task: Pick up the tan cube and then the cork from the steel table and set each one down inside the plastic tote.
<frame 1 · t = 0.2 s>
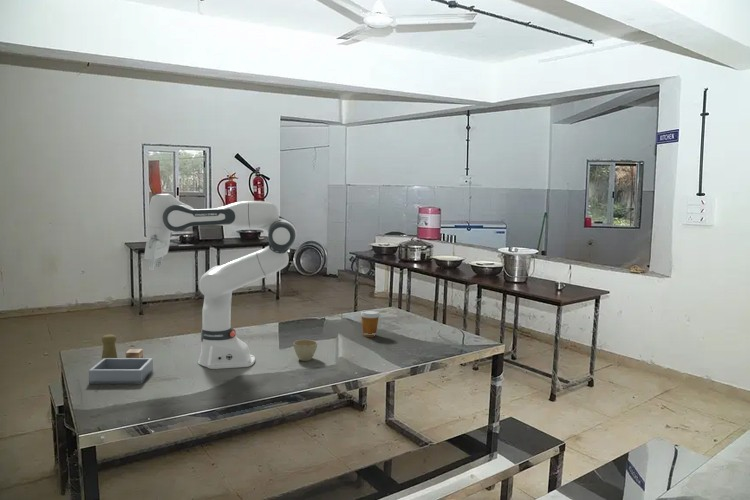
hand: (155, 268, 219), 38 cm above the table, tool pointing down, fingers open, 8 cm apart
tote: (122, 377, 204), on the table
tan cube: (134, 362, 221), on the table
disposable coffee cup: (369, 335, 274), on the table
cork: (109, 362, 221), on the table
flower pot: (305, 359, 233), on the table
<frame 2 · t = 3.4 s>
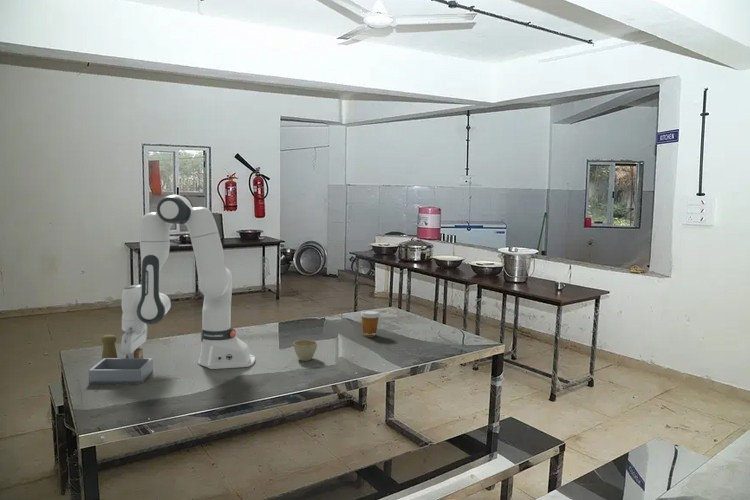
hand: (134, 358, 221), 2 cm above the table, tool pointing down, fingers closed on tan cube, 5 cm apart
tan cube: (134, 362, 221), on the table, touching gripper
everything else where it was.
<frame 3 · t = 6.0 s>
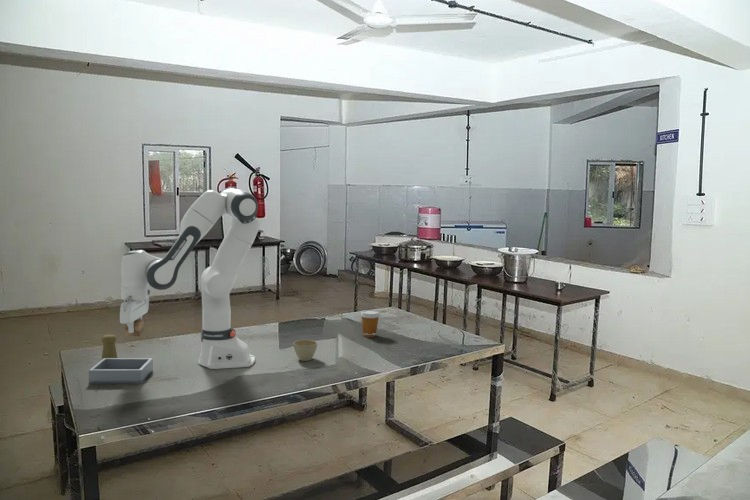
hand: (134, 330, 206), 17 cm above the table, tool pointing down, fingers closed on tan cube, 5 cm apart
tan cube: (134, 334, 206), point 16 cm above the table, touching gripper
everything else where it was.
when the fingers open (5 cm above the table, at t = 9.1 s): tan cube drops 2 cm, resting on tote.
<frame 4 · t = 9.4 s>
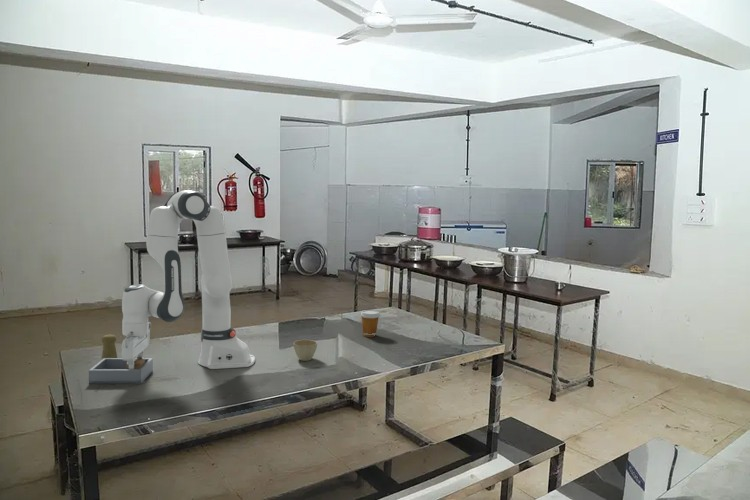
hand: (136, 365, 204), 5 cm above the table, tool pointing down, fingers open, 8 cm apart
tan cube: (136, 374, 205), point 1 cm above the table, touching tote
everything else where it was.
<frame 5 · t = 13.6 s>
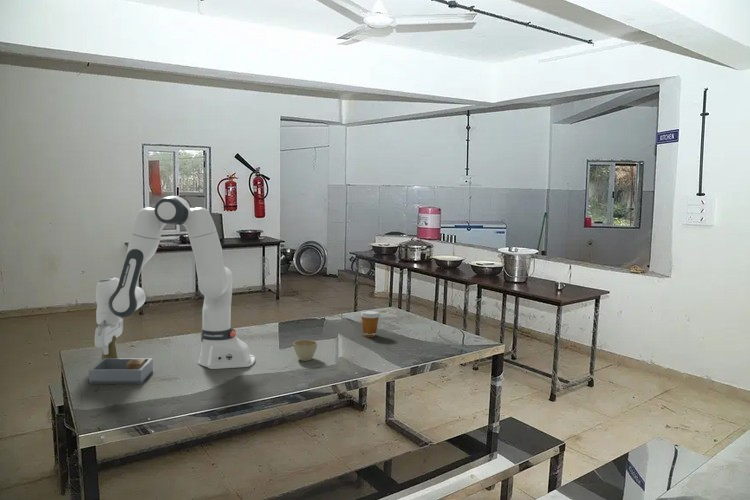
hand: (109, 351, 221), 4 cm above the table, tool pointing down, fingers closed on cork, 5 cm apart
cork: (109, 362, 221), on the table, touching gripper
everything else where it was.
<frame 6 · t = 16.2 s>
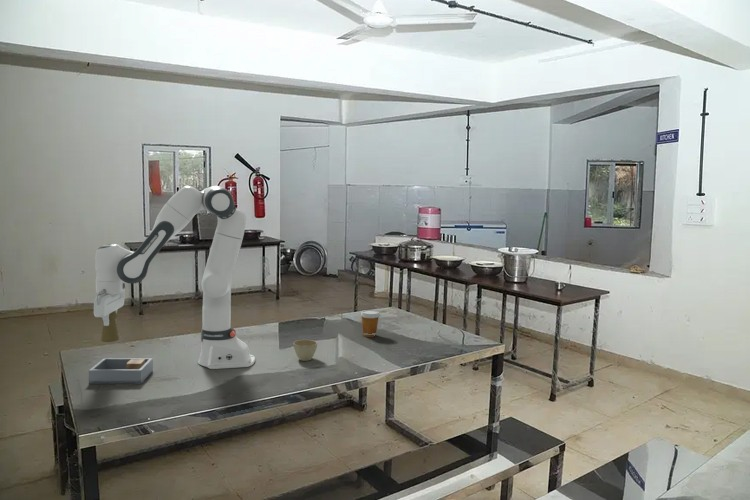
hand: (109, 323, 207), 19 cm above the table, tool pointing down, fingers closed on cork, 4 cm apart
cork: (110, 340, 208), point 12 cm above the table, touching gripper
everything else where it was.
when the fingers open (7 cm above the table, at t = 19.3 s): cork stays where it is, resting on tote.
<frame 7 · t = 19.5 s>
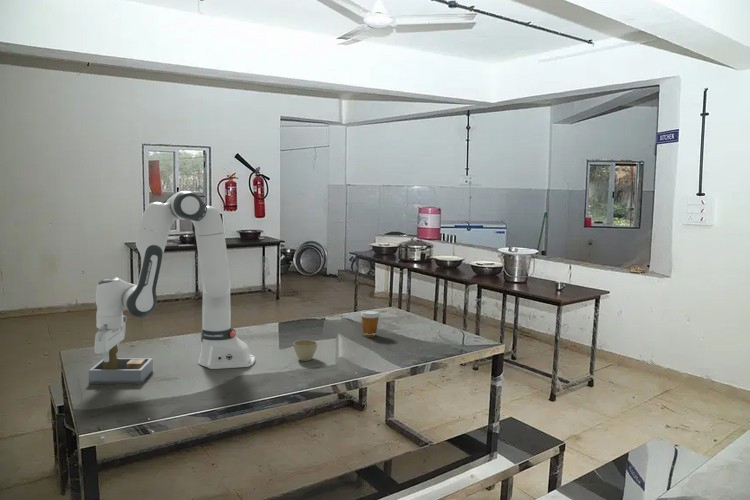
hand: (110, 358, 203), 7 cm above the table, tool pointing down, fingers open, 6 cm apart
cork: (110, 374, 204), point 1 cm above the table, touching tote
everything else where it was.
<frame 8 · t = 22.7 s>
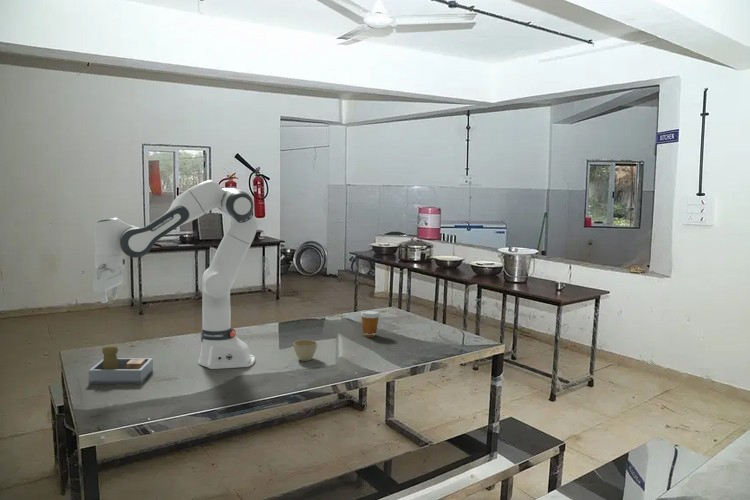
hand: (109, 300, 201), 29 cm above the table, tool pointing down, fingers open, 8 cm apart
nothing on the table moved.
at the end: tan cube inside the target area on the tote (4.9 cm from its centre), point 1.0 cm above the tote's base; cork inside the target area on the tote (4.2 cm from its centre), point 0.8 cm above the tote's base; cork tilted 0° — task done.
